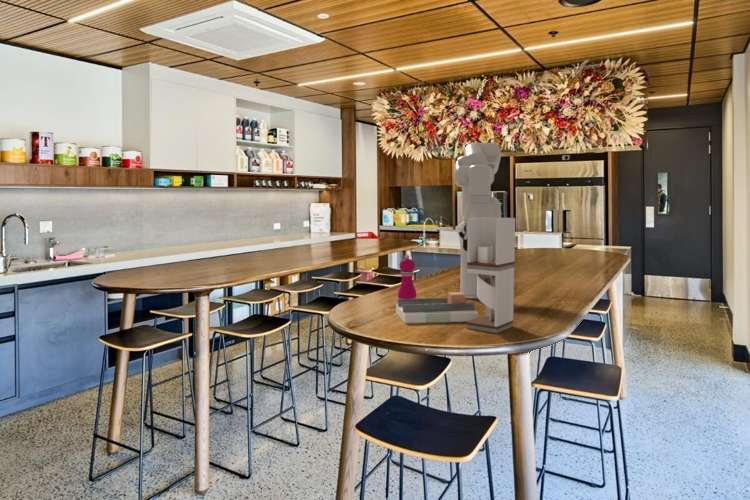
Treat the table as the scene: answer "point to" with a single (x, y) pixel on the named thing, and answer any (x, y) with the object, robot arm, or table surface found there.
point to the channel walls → (433, 305)
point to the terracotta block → (456, 297)
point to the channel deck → (436, 316)
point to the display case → (492, 270)
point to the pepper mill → (407, 279)
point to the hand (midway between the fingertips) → (478, 250)
